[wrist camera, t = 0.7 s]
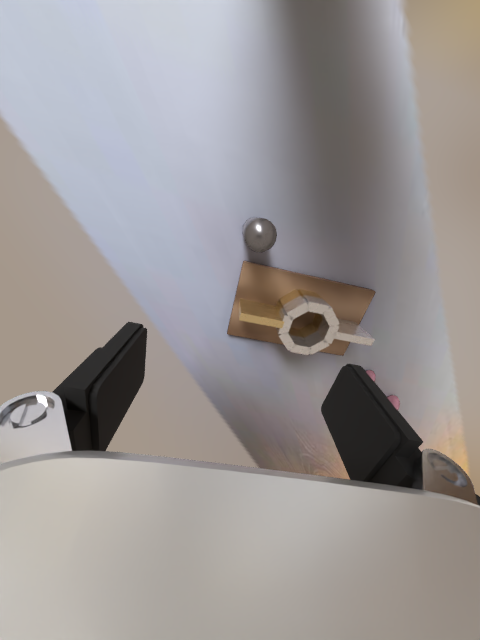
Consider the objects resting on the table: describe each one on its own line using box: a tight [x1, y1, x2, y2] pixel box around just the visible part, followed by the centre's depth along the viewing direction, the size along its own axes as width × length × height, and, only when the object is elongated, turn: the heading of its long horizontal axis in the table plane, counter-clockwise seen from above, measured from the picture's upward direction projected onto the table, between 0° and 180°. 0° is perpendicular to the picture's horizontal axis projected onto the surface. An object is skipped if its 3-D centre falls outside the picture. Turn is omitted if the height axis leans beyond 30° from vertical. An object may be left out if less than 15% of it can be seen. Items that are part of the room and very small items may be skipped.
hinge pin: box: [243, 217, 277, 252], centre depth 25 cm, size 3×3×8 cm
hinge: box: [239, 289, 375, 355], centre depth 30 cm, size 7×18×5 cm, turn 77°
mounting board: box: [227, 261, 375, 356], centre depth 33 cm, size 11×19×1 cm, turn 77°
